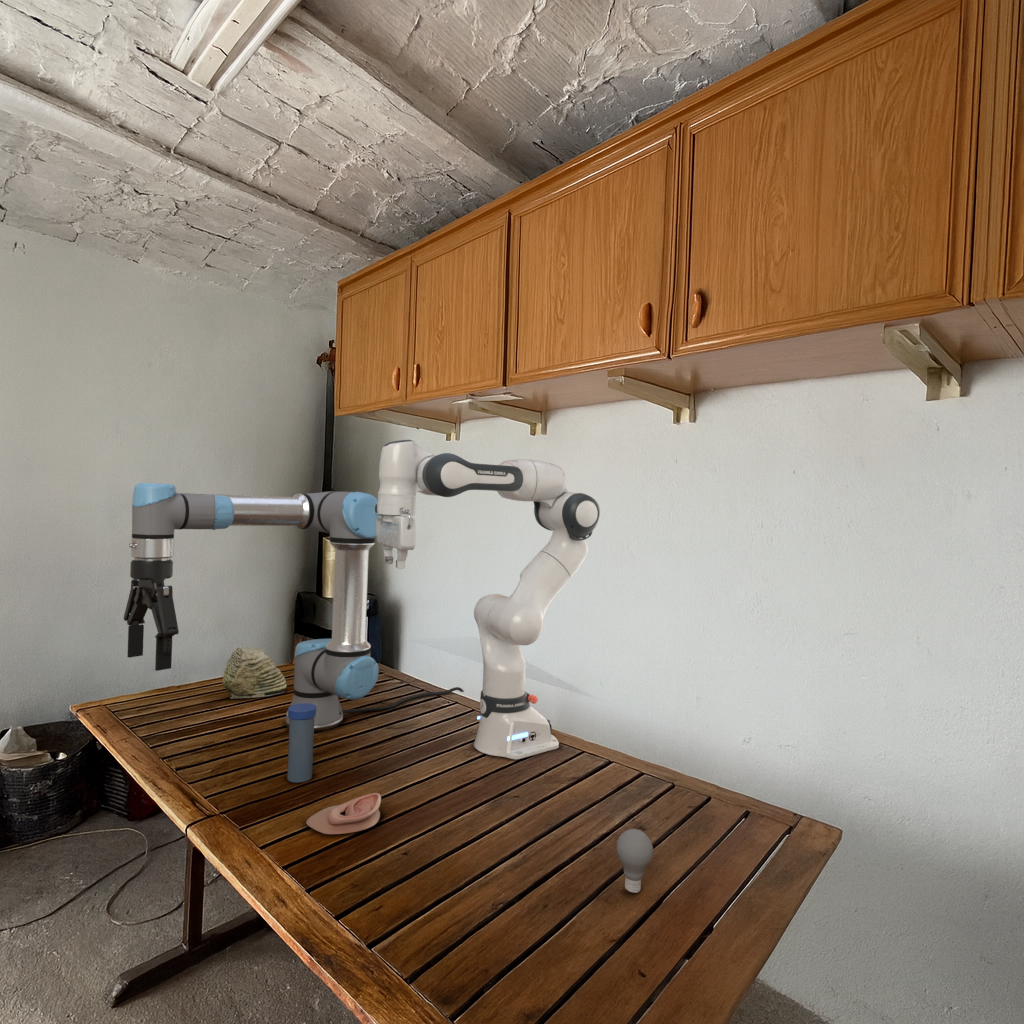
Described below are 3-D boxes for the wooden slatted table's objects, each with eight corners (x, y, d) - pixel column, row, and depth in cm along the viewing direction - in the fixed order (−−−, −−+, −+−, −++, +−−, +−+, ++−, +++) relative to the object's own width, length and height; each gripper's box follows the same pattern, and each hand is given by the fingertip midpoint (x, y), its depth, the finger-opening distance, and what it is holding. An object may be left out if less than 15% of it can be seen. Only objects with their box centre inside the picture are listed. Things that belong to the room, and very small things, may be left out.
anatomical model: (298, 809, 120) (327, 783, 131) (297, 830, 120) (327, 802, 131) (363, 819, 117) (388, 791, 128) (362, 840, 117) (387, 811, 128)
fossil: (218, 695, 195) (220, 647, 195) (278, 685, 208) (279, 640, 207) (228, 703, 189) (230, 653, 188) (289, 692, 201) (290, 645, 201)
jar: (294, 784, 139) (297, 715, 138) (282, 776, 142) (285, 709, 142) (316, 777, 143) (319, 709, 142) (304, 770, 146) (307, 704, 146)
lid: (296, 721, 138) (296, 713, 138) (282, 714, 142) (283, 706, 142) (321, 715, 142) (321, 708, 142) (307, 708, 146) (307, 701, 146)
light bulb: (610, 879, 108) (613, 822, 108) (644, 879, 109) (647, 822, 109) (619, 902, 102) (622, 840, 102) (655, 901, 103) (658, 840, 103)
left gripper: (108, 554, 134) (104, 654, 134) (159, 565, 118) (155, 678, 119) (146, 552, 140) (143, 648, 140) (199, 563, 124) (195, 671, 124)
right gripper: (423, 509, 143) (421, 571, 143) (397, 507, 161) (394, 561, 161) (396, 508, 140) (394, 571, 140) (372, 506, 158) (370, 561, 158)
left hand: (148, 662), depth 129 cm, fingers open, 13 cm apart
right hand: (394, 565), depth 151 cm, fingers open, 8 cm apart
